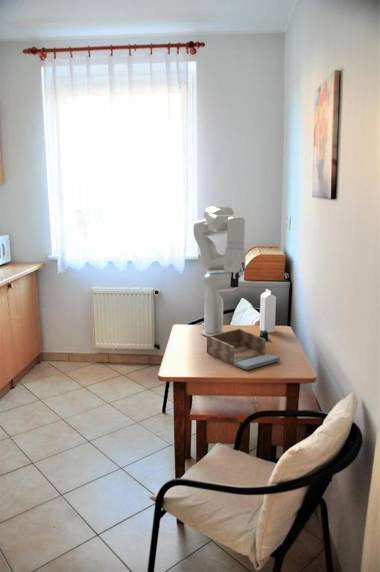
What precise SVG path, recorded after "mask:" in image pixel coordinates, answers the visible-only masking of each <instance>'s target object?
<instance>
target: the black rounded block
mask: <svg viewBox="0 0 380 572" xmlns="http://www.w3.org/2000/svg"><path fill="white" fill-rule="evenodd" d="M258 336H259V337H262V338H264V339H266V341H267V342H269V343H272V342H273V341H272V340H271V339H270V338H269V332H267V331H266V330H260V332H259V335H258ZM266 341H265V342H266Z"/></svg>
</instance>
